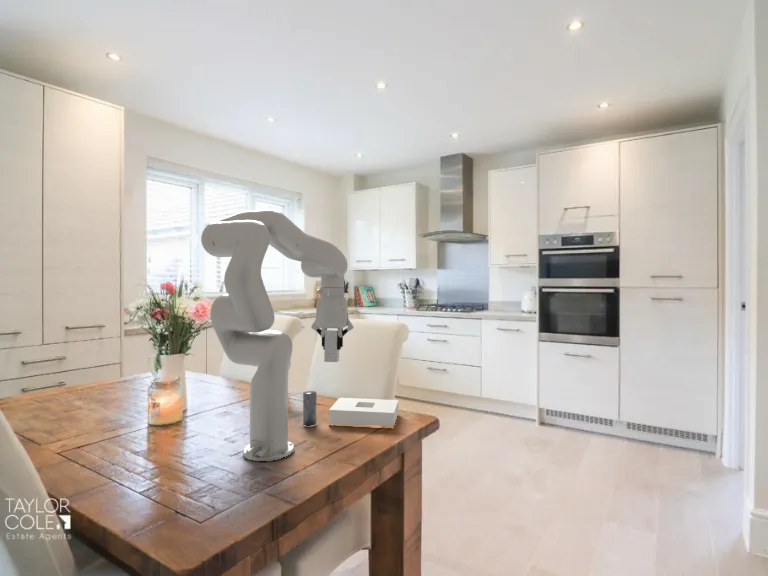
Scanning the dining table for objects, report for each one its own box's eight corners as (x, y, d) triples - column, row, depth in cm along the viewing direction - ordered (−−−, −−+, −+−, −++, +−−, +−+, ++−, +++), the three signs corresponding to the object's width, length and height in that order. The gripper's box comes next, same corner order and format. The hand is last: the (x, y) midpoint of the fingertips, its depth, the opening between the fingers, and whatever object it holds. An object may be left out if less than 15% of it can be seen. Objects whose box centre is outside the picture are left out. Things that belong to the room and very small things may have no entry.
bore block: (393, 429, 130) (393, 412, 130) (328, 426, 132) (328, 409, 132) (398, 415, 143) (398, 400, 143) (339, 412, 146) (339, 397, 146)
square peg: (336, 362, 139) (337, 330, 139) (324, 361, 139) (324, 330, 140) (338, 360, 143) (339, 330, 143) (327, 360, 143) (327, 330, 144)
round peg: (314, 427, 131) (314, 394, 131) (301, 427, 131) (301, 394, 131) (317, 423, 135) (318, 391, 135) (305, 422, 135) (305, 390, 135)
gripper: (304, 293, 138) (304, 350, 139) (356, 293, 137) (355, 351, 137) (310, 292, 146) (310, 346, 146) (359, 293, 144) (359, 347, 144)
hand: (332, 348), depth 142 cm, fingers closed on square peg, 4 cm apart
